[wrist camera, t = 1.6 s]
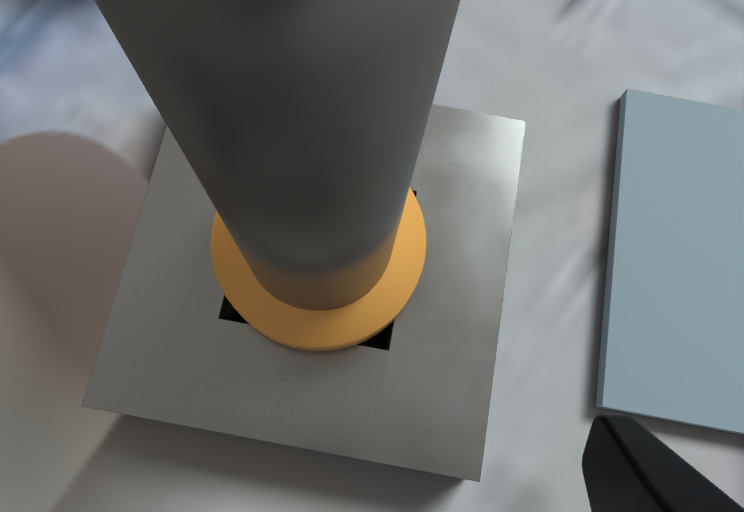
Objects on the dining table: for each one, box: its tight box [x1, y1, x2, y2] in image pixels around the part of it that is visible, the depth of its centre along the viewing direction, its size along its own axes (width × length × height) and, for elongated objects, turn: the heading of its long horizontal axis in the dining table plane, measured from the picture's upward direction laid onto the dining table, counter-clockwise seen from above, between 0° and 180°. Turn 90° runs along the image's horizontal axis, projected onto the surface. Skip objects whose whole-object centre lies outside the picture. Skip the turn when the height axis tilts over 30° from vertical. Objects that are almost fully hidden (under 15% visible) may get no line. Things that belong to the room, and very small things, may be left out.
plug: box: [95, 0, 460, 351], centre depth 14 cm, size 6×6×17 cm
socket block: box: [82, 104, 525, 482], centre depth 21 cm, size 12×12×2 cm
